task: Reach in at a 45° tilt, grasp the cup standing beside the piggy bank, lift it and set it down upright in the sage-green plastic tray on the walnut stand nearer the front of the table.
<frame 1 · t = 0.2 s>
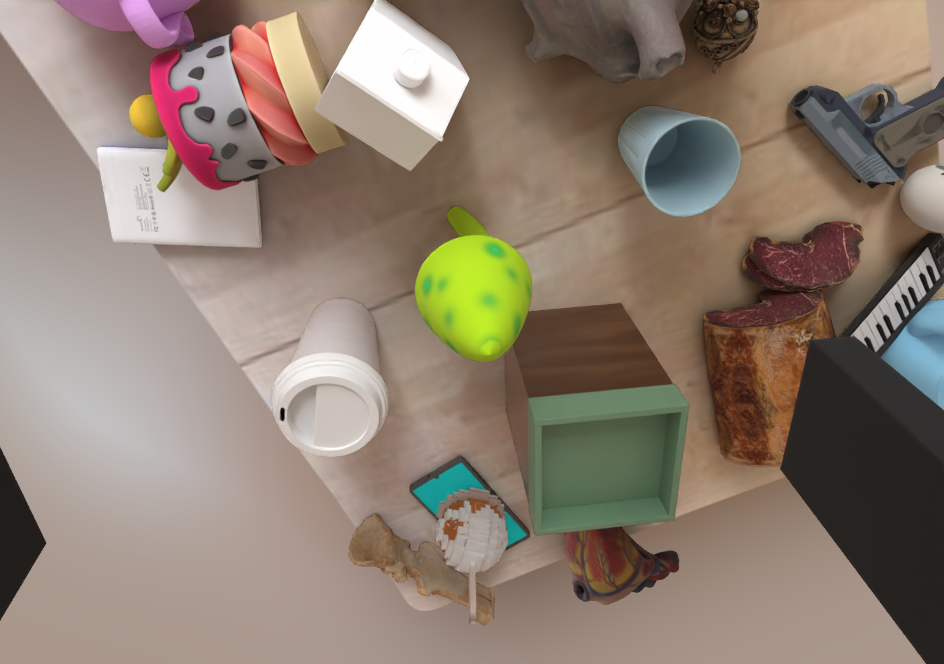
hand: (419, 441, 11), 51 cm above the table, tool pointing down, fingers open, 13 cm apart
figurine: (492, 609, 83), point 4 cm above the table
coffee cup: (342, 326, 67), on the table
stand: (561, 359, 71), on the table
tray: (598, 449, 58), resting on stand
decorative ornament: (471, 508, 79), on the table, touching smartphone
anatomical model: (588, 568, 77), point 7 cm above the table
smartphone: (471, 508, 80), on the table, touching decorative ornament
hard drive: (260, 201, 59), point 1 cm above the table
cup: (646, 136, 61), on the table
cake: (325, 79, 51), point 5 cm above the table
pendant: (740, 13, 56), point 1 cm above the table
teapot 2: (897, 344, 74), on the table
milk carton: (393, 61, 56), on the table
mushroom: (456, 215, 63), on the table
midi keyboard: (882, 292, 66), point 4 cm above the table, touching cured meat
cured meat: (779, 333, 72), on the table, touching midi keyboard
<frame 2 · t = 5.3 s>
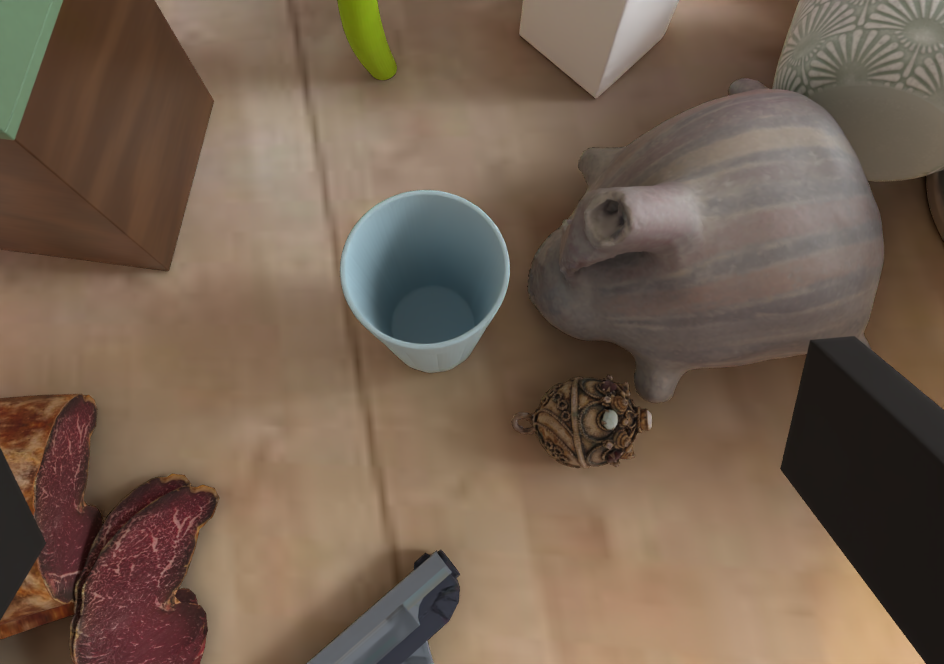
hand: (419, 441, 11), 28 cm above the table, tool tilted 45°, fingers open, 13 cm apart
piggy bank: (670, 259, 42), on the table
stand: (99, 171, 43), on the table
cup: (433, 329, 41), on the table
pendant: (587, 462, 38), point 1 cm above the table
milk carton: (590, 39, 47), on the table
mushroom: (383, 70, 46), on the table
planter: (863, 142, 38), point 6 cm above the table
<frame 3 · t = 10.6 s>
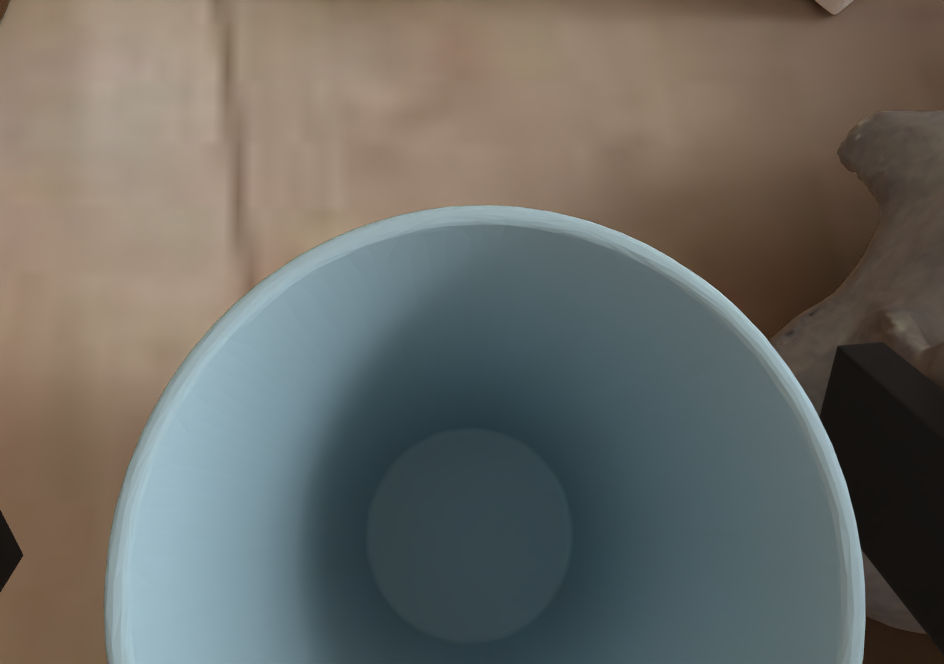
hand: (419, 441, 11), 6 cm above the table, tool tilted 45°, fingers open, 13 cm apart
cup: (468, 530, 17), on the table
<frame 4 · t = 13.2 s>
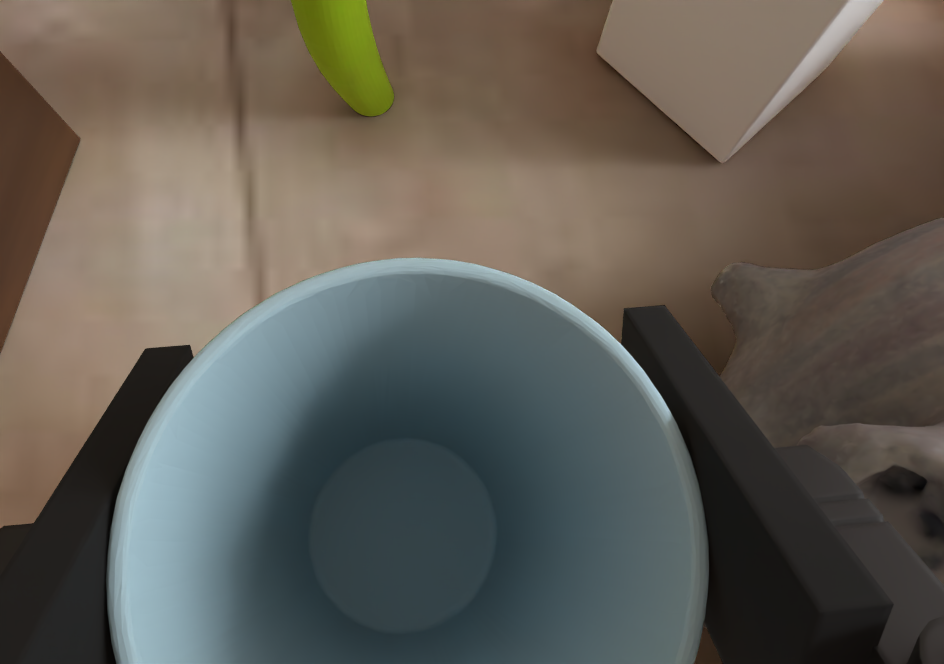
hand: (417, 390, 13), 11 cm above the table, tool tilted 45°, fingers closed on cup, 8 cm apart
piggy bank: (856, 452, 24), on the table
cup: (403, 532, 19), point 4 cm above the table, touching gripper
milk carton: (709, 65, 29), on the table
mushroom: (371, 99, 28), on the table
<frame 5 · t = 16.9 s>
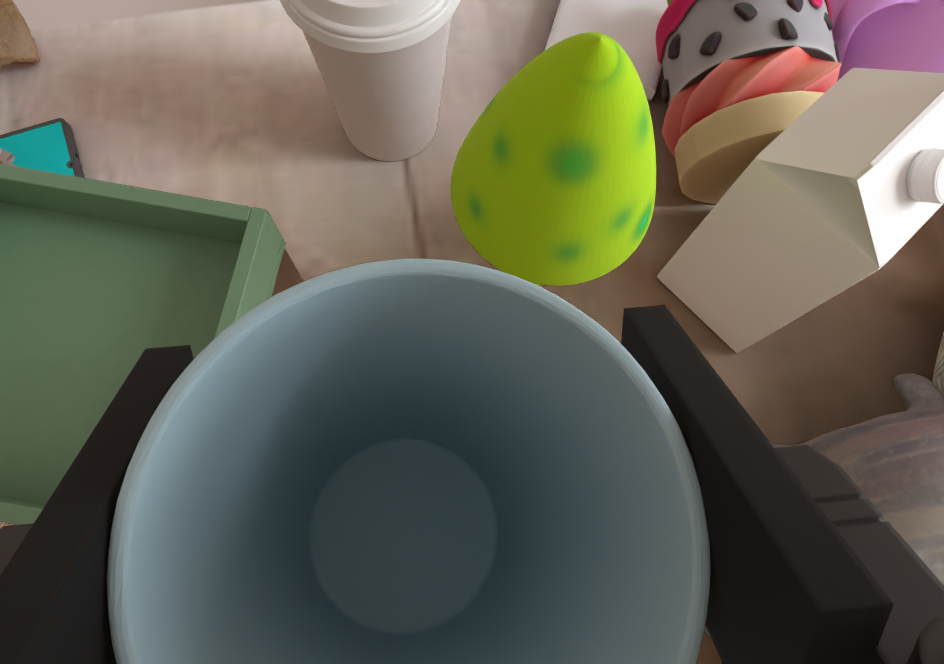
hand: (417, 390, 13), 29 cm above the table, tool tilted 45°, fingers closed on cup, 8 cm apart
piggy bank: (818, 542, 40), on the table
teapot: (908, 76, 49), on the table
coffee cup: (390, 121, 47), on the table
stand: (218, 418, 41), on the table
tray: (93, 359, 26), resting on stand
hard drive: (596, 82, 47), point 1 cm above the table
cup: (403, 532, 19), point 22 cm above the table, touching gripper
cake: (764, 173, 41), point 5 cm above the table
milk carton: (729, 282, 45), on the table
mushroom: (514, 309, 44), on the table
when the fingers open (22 cm above the table, at t = 21.1 s): cup stays where it is, resting on tray.
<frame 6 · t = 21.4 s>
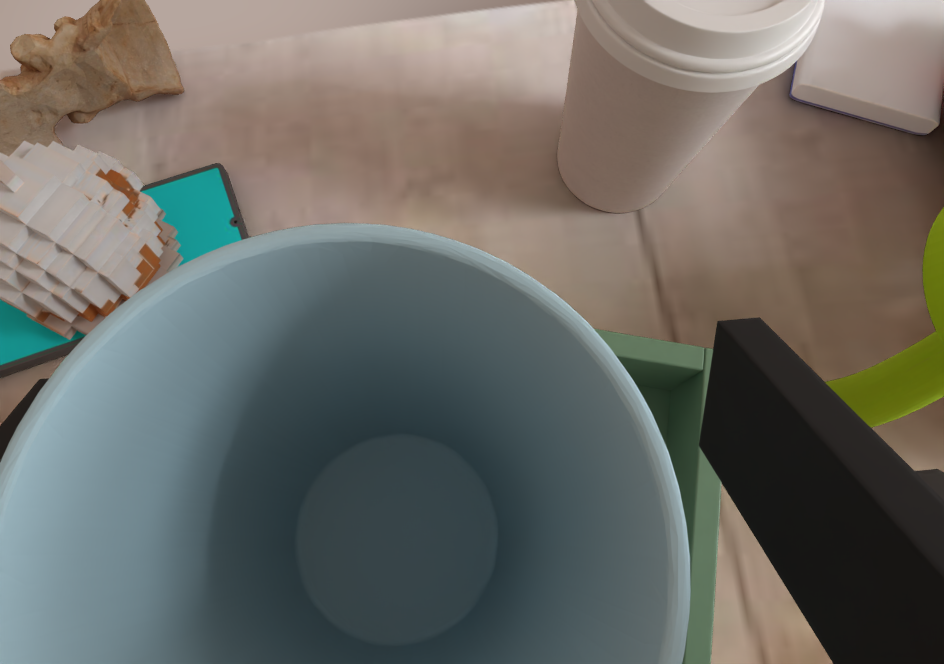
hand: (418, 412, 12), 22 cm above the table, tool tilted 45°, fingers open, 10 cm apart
coffee cup: (613, 162, 38), on the table
tray: (436, 565, 18), resting on stand
decorative ornament: (109, 272, 35), on the table, touching smartphone
smartphone: (105, 275, 35), on the table, touching decorative ornament
hard drive: (862, 113, 39), point 1 cm above the table
cup: (399, 535, 17), point 15 cm above the table, touching tray
mushroom: (791, 400, 35), on the table
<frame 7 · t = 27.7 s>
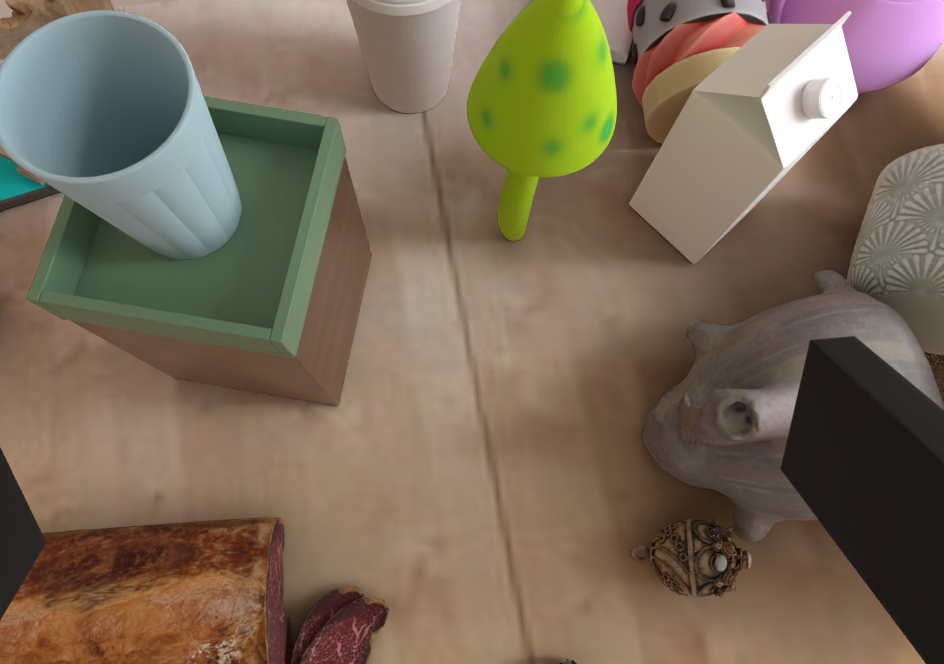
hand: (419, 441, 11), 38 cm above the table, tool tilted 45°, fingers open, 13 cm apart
piggy bank: (757, 409, 50), on the table
teapot: (838, 43, 60), on the table
coffee cup: (410, 81, 57), on the table
stand: (276, 314, 51), on the table
tray: (210, 230, 36), resting on stand
smartphone: (67, 150, 54), on the table, touching decorative ornament
hard drive: (579, 49, 57), point 1 cm above the table
cup: (191, 214, 36), point 15 cm above the table, touching tray
cake: (712, 116, 51), point 5 cm above the table
pendant: (691, 588, 46), point 1 cm above the table
milk carton: (688, 209, 55), on the table
mushroom: (513, 231, 54), on the table
planter: (926, 331, 46), point 6 cm above the table
cured meat: (200, 654, 44), on the table, touching midi keyboard
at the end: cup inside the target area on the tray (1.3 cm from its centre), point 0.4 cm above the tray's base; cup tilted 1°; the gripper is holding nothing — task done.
